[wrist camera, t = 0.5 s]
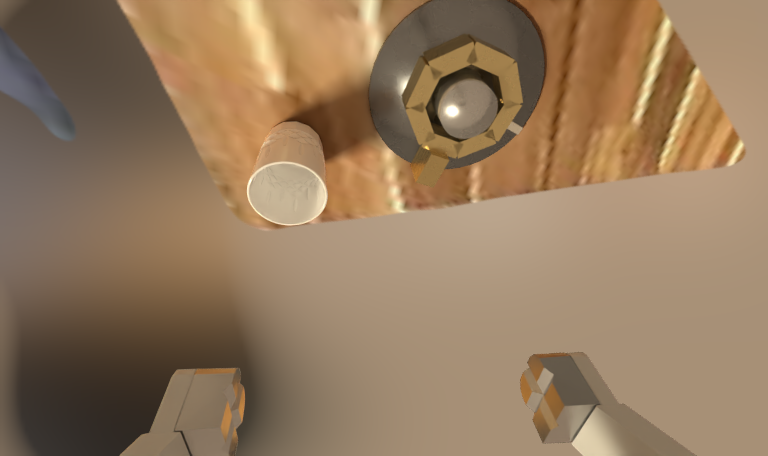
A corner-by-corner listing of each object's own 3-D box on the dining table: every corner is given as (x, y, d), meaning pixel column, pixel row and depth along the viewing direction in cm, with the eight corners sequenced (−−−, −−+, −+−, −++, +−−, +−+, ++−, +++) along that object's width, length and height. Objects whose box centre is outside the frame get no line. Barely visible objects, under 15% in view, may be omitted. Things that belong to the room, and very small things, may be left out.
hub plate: (342, 32, 38) (344, 48, 34) (541, -41, 36) (568, -33, 32) (395, 186, 51) (401, 211, 47) (544, 139, 49) (563, 161, 45)
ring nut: (436, 18, 38) (446, 28, 35) (531, 63, 42) (547, 76, 39) (375, 153, 47) (378, 171, 44) (458, 180, 51) (466, 197, 48)
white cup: (336, 130, 45) (339, 176, 38) (315, 182, 50) (313, 233, 42) (270, 105, 42) (258, 150, 35) (253, 162, 47) (239, 213, 39)
